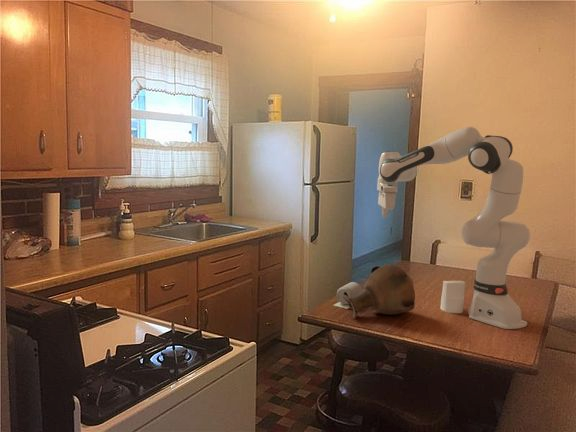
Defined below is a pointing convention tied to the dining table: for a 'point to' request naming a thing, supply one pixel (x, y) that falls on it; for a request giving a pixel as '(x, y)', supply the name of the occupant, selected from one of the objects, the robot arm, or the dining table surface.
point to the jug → (385, 292)
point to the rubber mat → (342, 305)
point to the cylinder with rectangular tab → (453, 296)
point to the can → (349, 291)
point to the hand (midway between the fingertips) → (384, 217)
